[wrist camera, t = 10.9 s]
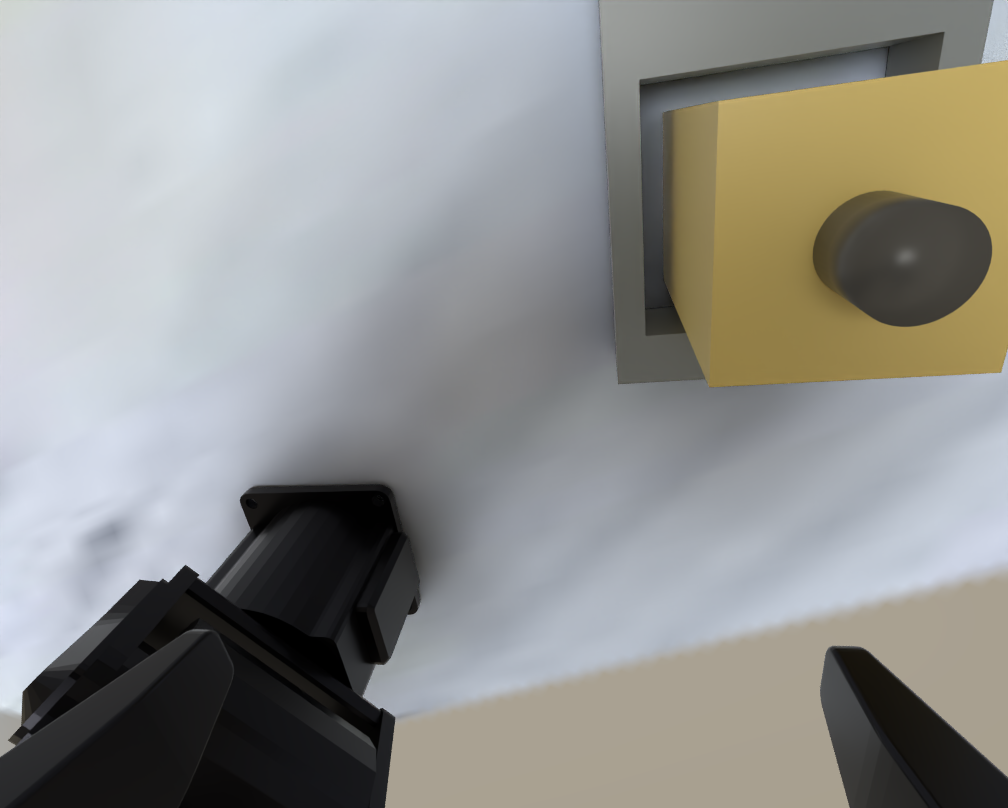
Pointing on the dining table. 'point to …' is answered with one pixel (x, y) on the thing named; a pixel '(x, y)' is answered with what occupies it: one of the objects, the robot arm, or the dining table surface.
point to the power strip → (721, 48)
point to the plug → (842, 229)
